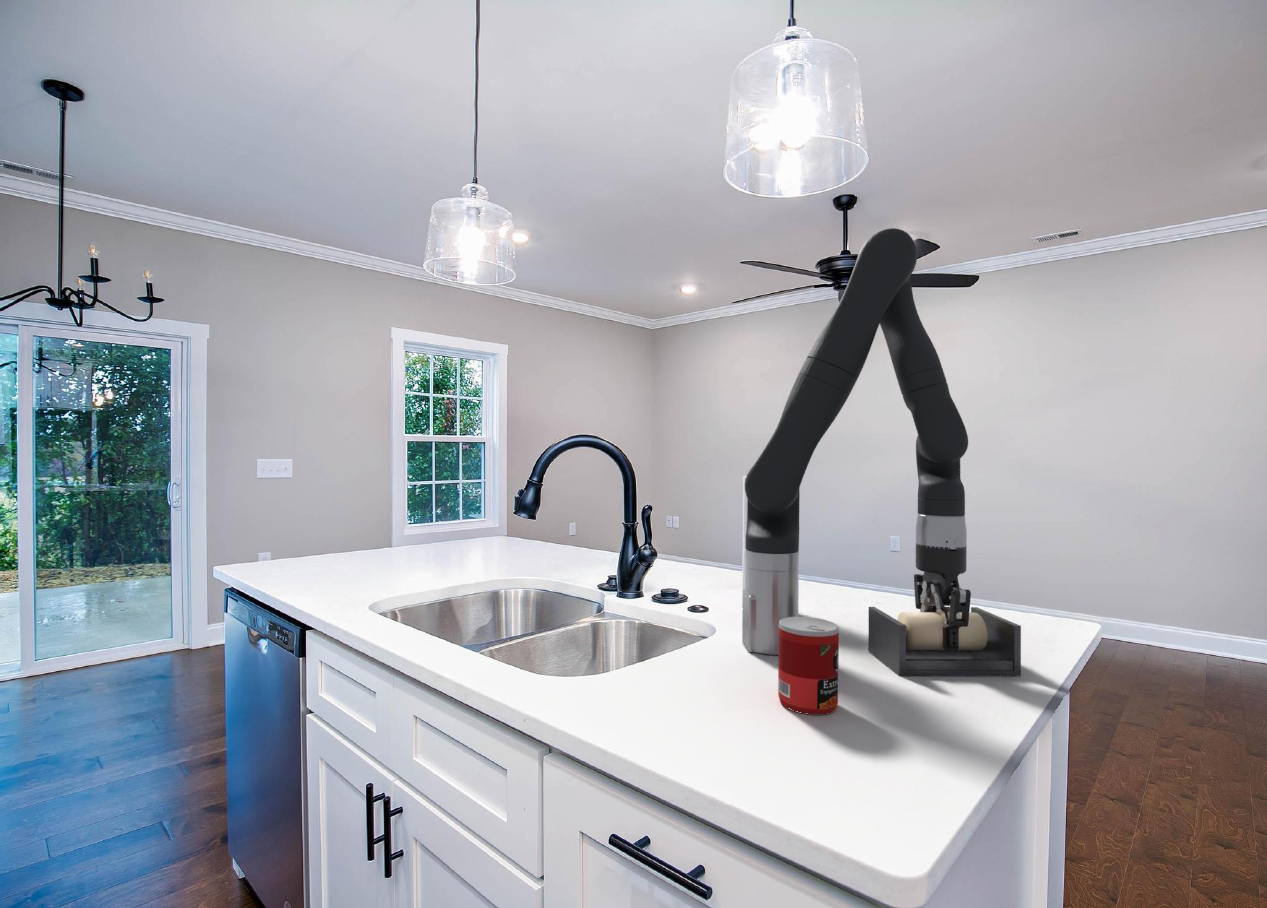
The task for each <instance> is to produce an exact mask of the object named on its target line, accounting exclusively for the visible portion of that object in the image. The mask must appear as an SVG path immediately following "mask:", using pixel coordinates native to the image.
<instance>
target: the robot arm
mask: <svg viewBox="0 0 1267 908" xmlns="http://www.w3.org/2000/svg"><path fill="white" fill-rule="evenodd" d="M917 261H918V250H917V246H916V243H915V241H914V239H913V237H912V236H911V235H910V234H909V233H908V232H907V231H905V230H902V229H900V228H894V227H890V228H886V229H882V230H879V231H878V232H876V233H874V234H872V235H871V236H870V237H869V238H868V239H867V240H865V242H864V243H863V244H862V246H861V247H860V249H859V252H858V255H857V257H856V261H855V264H854V266H853V269H852V272H851V275H850V277H849V279H848V282H847V284H846V287H845V290H844V292H843V294H842V296H841V299H840V300H839V302H838V304H837V307H836V308H835V310H834V311H833V313H832V314H831V316H830V317H829V319H828V320H827V322H826V324H825V325H824V326H823V329H822V330H821V331H820V334H819V335H818V336H817V339H816V341H815V342H814V344H813V346H812V347H811V350H810V351H809V353H808V355H807V356H806V358H805V361H804V362H803V364H802V366H801V369H800V370H799V372H798V375H797V377H796V379H795V381H794V383H793V386H792V388H791V389H790V392H789V395H788V397H787V400H786V402H785V404H784V407H783V411H782V413H781V416H780V419H779V422H778V424H777V426H776V428H775V430H774V432H773V434H772V435H771V437H770V439H769V441H768V442H767V444H766V445H765V448H764V449H763V450H762V452H761V454H760V455H759V457H758V458H757V459H756V461H755V462H754V464H753V465H752V467H751V468H750V469H749V471H748V472H747V475H746V476H747V477H746V479H745V492H746V496H747V498H748V502H747V529H746V572H745V589H744V590H743V609H742V620H741V621H742V628H741V629H742V631H741V632H742V635H741V636H742V637H741V638H742V640H741V641H742V644H743V645H744V647H745V648H746V650H747V651H748V652H749V653H759V654H764V655H769V656H770V655H772V656H774V655H775V656H778V633H779V621H780V620H781V619H784V618H788V617H799V594H800V593H799V588H800V587H799V584H800V583H799V581H800V579H799V575H800V571H799V570H800V569H799V568H800V561H799V560H800V559H799V558H800V553H799V550H800V547H799V546H800V493H801V492H800V491H801V490H800V489H801V488H800V487H801V485H802V481H803V478H804V476H805V474H806V471H807V468H808V466H809V464H810V462H811V459H812V456H813V454H814V452H815V450H816V448H817V447H818V444H819V442H821V439H822V438H824V435H825V434H826V433H827V431H828V430H829V429H830V427H831V425H832V424H833V423H834V421H835V420H836V418H837V417H838V415H839V413H840V412H841V411H842V409H843V407H844V405H845V404H846V402H847V400H848V398H849V396H850V395H851V393H852V391H853V389H854V387H855V385H856V383H857V381H858V379H859V377H860V375H861V372H863V371H862V370H863V368H864V366H865V363H866V361H867V358H868V356H869V353H870V351H871V348H872V345H873V343H874V340H875V337H876V334H877V332H878V329H879V326H880V328H881V331H882V333H883V336H884V339H885V342H886V346H887V349H888V352H889V357H890V359H891V360H890V361H891V363H892V367H893V371H894V373H895V376H896V380H897V384H898V386H899V387H898V388H899V390H900V393H901V395H902V399H903V402H904V405H905V406H906V408H907V409H908V410H909V411H910V413H911V416H912V419H913V423H914V426H915V429H916V432H917V437H916V442H915V457H916V459H915V460H916V472H917V479H918V487H917V488H918V489H917V515H916V516H917V518H916V524H915V568H916V569H917V570H919V571H921V572H923V573H914V575H913V582H914V583H913V584H914V586H913V587H914V589H913V590H914V602H915V609H916V610H919V612H938V613H940V614H941V617H942V621H943V626H944V627H943V649H944V650H946V651H958V649H959V628H961V627H967V626H968V622H969V613H970V612H971V607H970V606H971V598H972V596H971V595H972V593H971V590H970V589H965V588H964V589H963V588H961V587H960V583H959V577H958V576H960V575H963V574H965V573H966V572H967V549H968V548H967V540H968V539H967V537H968V534H967V525H966V524H967V523H966V516H965V515H966V511H965V510H966V493H965V492H966V490H965V486H964V484H963V482H962V479H961V458H963V457H964V456H965V454H966V452H967V450H968V447H969V437H968V436H969V435H968V432H967V429H966V426H965V424H964V421H963V419H962V416H961V414H960V412H959V410H958V408H957V406H956V404H955V402H954V400H953V398H952V395H951V393H950V388H949V383H948V381H947V378H946V375H945V371H944V369H943V365H942V363H941V360H940V357H939V355H938V352H937V350H936V347H935V345H934V343H933V341H932V339H931V338H930V336H929V335H928V332H927V331H926V329H925V327H924V324H923V323H922V321H921V318H920V316H919V313H918V310H917V306H916V303H915V299H914V294H913V287H912V279H911V276H912V274H913V272H914V270H915V268H916V266H917ZM947 613H950V614H949V618H948V614H947ZM960 613H962V618H961V617H960Z"/></svg>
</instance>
